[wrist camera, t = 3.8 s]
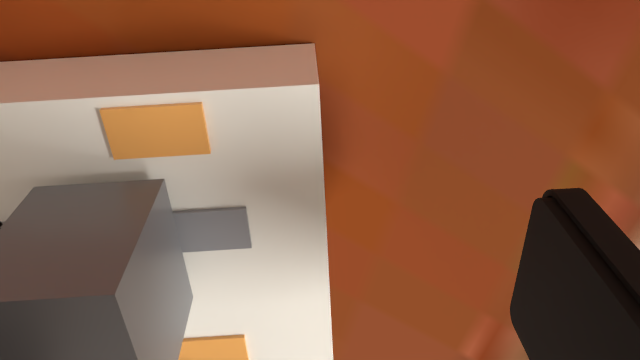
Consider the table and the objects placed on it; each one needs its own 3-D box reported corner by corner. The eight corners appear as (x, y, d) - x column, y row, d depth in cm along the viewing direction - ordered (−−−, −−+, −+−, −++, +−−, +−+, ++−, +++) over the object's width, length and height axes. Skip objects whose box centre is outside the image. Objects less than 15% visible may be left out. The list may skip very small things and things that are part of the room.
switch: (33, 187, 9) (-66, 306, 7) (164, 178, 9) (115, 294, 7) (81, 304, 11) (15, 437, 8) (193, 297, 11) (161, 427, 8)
